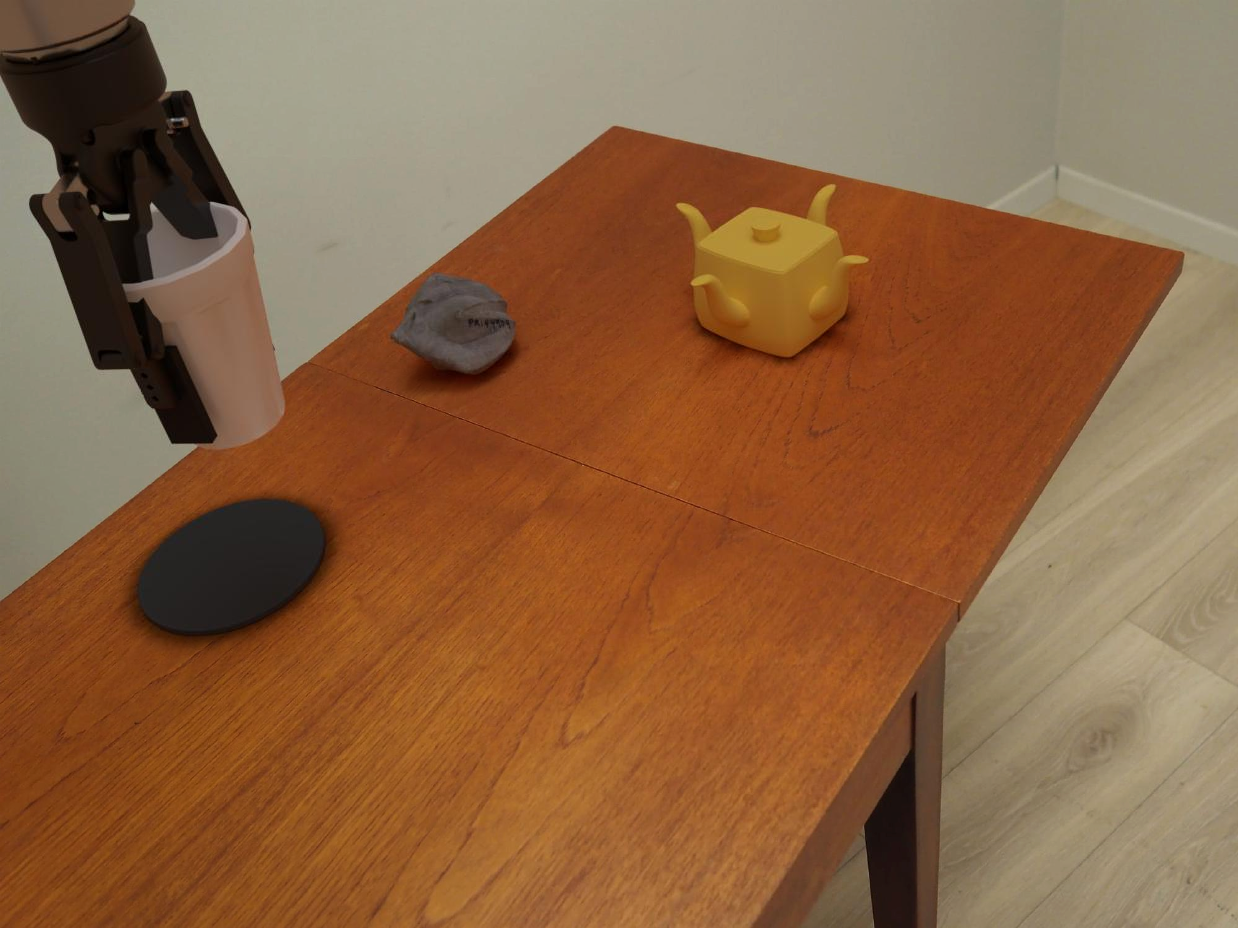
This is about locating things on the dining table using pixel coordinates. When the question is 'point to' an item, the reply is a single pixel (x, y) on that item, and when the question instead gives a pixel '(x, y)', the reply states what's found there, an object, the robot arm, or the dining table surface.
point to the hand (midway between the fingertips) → (225, 394)
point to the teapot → (770, 276)
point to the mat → (231, 567)
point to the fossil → (456, 324)
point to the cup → (216, 323)
